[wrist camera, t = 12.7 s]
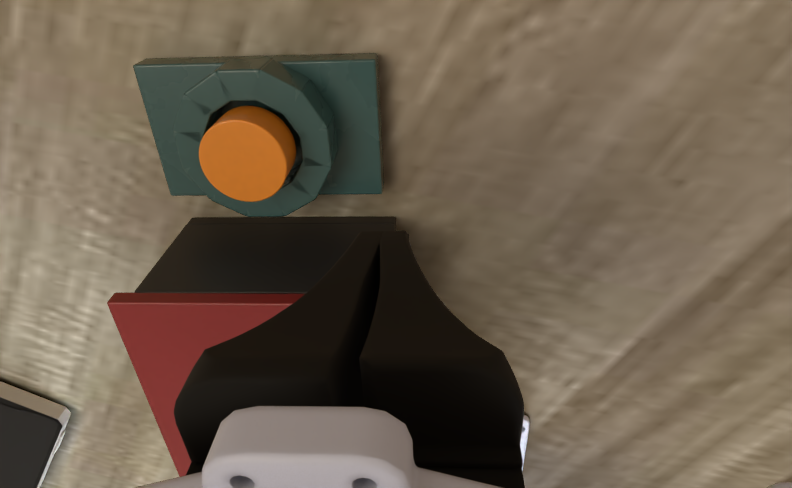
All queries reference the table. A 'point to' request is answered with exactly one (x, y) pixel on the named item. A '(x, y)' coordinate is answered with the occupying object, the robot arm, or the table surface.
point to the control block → (285, 97)
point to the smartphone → (28, 436)
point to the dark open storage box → (256, 254)
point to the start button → (247, 153)
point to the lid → (183, 342)
